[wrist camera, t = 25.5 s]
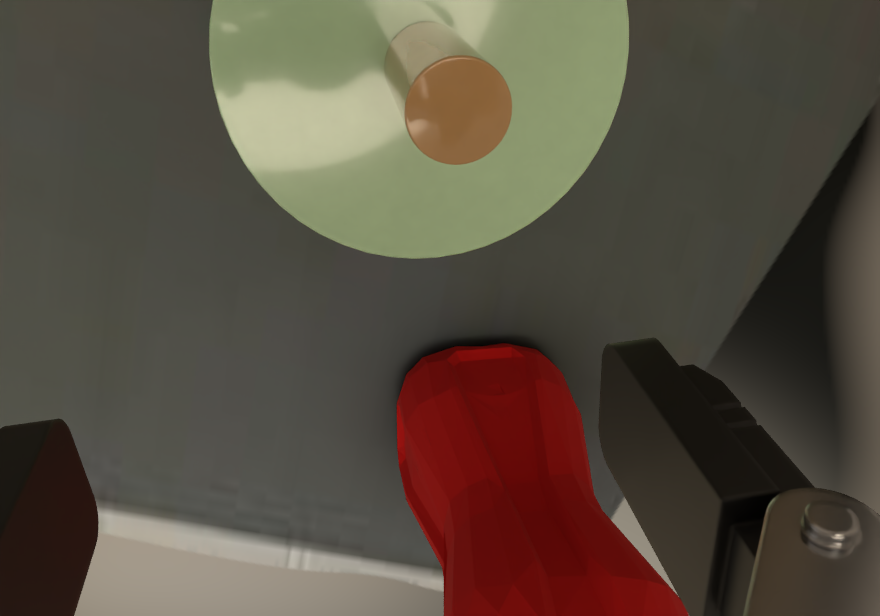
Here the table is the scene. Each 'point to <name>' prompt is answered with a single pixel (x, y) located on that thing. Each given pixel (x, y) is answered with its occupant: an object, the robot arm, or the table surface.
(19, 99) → the table surface
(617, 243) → the table surface
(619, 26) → the lid
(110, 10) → the table surface
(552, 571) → the water bottle
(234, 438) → the table surface
